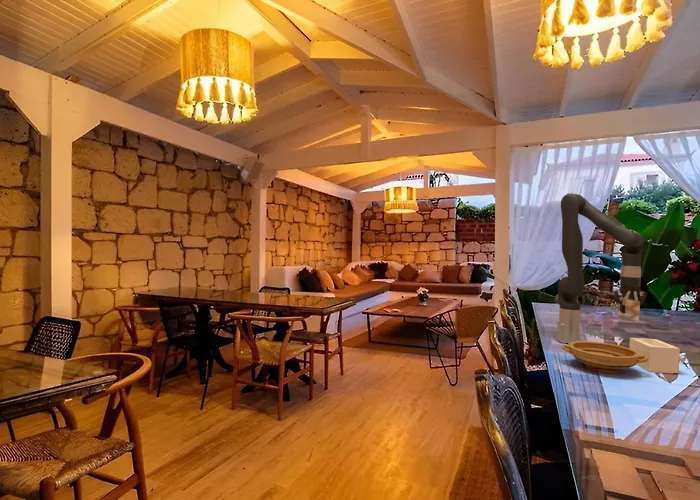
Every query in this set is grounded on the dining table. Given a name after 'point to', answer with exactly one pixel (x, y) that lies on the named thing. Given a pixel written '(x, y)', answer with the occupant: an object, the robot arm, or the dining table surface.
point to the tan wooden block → (630, 310)
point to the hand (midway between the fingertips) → (628, 313)
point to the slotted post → (656, 355)
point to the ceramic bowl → (604, 355)
